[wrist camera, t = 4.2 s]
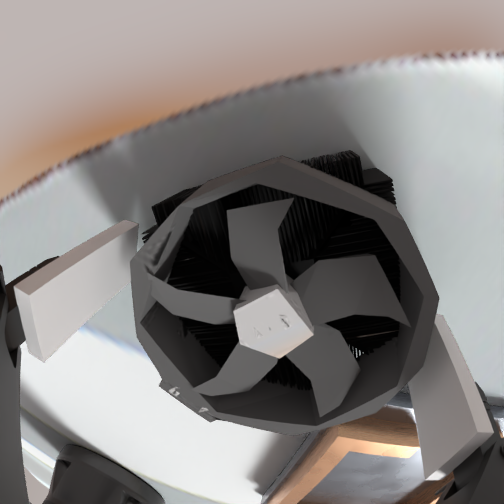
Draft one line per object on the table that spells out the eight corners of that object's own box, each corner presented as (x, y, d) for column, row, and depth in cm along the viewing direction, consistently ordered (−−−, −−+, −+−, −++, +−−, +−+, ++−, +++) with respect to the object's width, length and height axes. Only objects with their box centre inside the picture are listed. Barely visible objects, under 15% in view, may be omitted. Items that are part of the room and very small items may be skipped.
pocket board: (262, 496, 23) (256, 521, 21) (343, 380, 16) (343, 421, 13) (389, 511, 22) (390, 534, 19) (509, 407, 15) (521, 437, 12)
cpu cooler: (426, 134, 6) (429, 421, 10) (382, 131, 12) (406, 337, 15) (77, 222, 9) (185, 436, 12) (156, 186, 14) (219, 360, 18)
